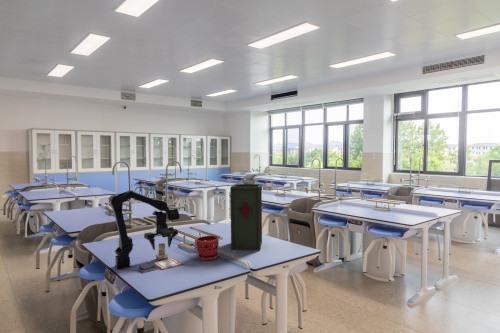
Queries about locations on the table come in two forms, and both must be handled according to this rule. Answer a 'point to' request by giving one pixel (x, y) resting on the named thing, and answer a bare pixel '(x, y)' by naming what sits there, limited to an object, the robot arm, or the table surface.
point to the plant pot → (207, 247)
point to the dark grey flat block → (147, 267)
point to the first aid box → (246, 216)
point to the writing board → (167, 263)
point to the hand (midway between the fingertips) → (161, 248)
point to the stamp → (162, 253)
